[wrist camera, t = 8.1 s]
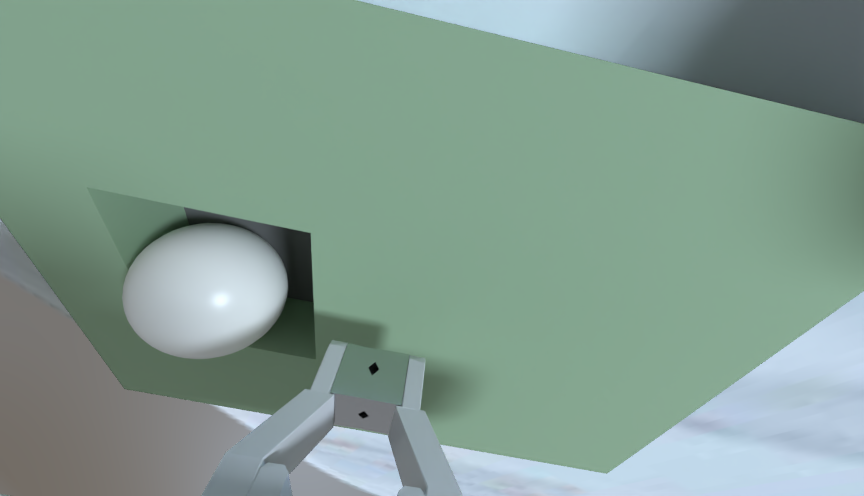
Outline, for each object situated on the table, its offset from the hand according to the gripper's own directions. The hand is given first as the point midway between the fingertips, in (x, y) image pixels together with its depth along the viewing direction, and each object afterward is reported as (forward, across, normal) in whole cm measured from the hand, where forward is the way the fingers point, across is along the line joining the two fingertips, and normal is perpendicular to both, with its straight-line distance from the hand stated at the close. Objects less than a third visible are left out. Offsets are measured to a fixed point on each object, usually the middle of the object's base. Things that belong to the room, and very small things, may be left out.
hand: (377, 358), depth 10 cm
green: (+5, 0, 0) cm, 5 cm away
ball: (+2, +7, +1) cm, 7 cm away
